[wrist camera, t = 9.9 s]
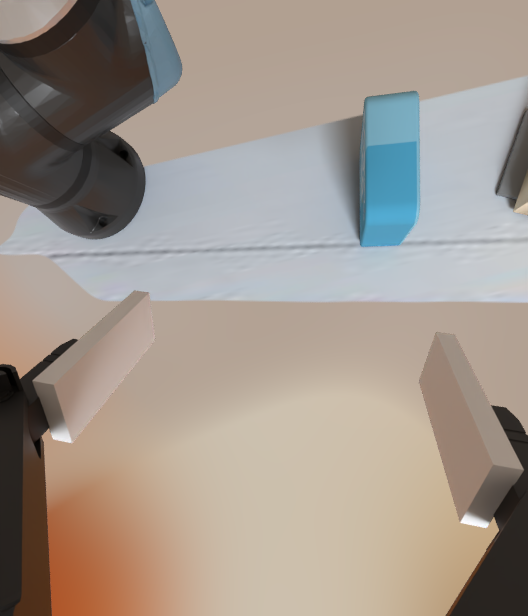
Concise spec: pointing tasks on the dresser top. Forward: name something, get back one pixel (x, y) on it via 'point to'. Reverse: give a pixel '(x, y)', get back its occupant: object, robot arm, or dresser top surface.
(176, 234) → the dresser top surface
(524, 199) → the maple block
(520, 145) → the charcoal mat
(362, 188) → the data package
